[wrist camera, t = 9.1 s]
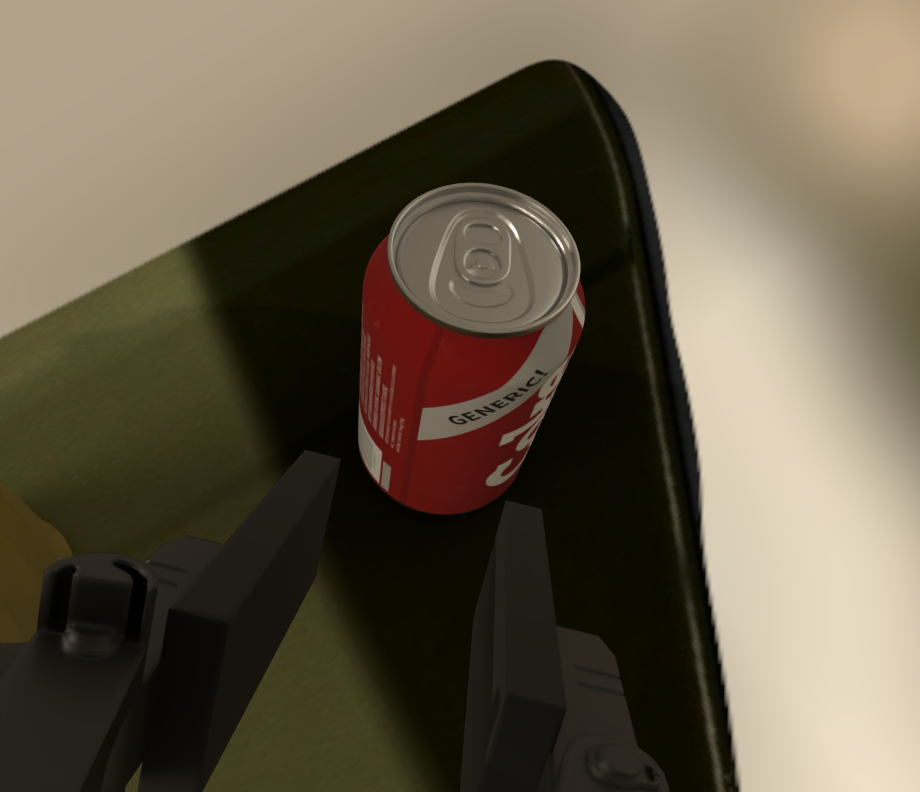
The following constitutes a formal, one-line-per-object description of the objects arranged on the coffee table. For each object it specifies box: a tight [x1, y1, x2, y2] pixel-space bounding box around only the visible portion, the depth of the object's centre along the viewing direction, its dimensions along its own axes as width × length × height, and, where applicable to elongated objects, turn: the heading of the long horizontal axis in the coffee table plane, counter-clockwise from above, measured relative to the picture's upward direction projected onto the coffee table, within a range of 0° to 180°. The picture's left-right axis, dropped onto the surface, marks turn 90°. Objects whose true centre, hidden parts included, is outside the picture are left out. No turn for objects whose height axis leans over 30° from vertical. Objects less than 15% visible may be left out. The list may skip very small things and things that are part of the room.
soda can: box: [358, 183, 585, 516], centre depth 27 cm, size 7×7×12 cm
